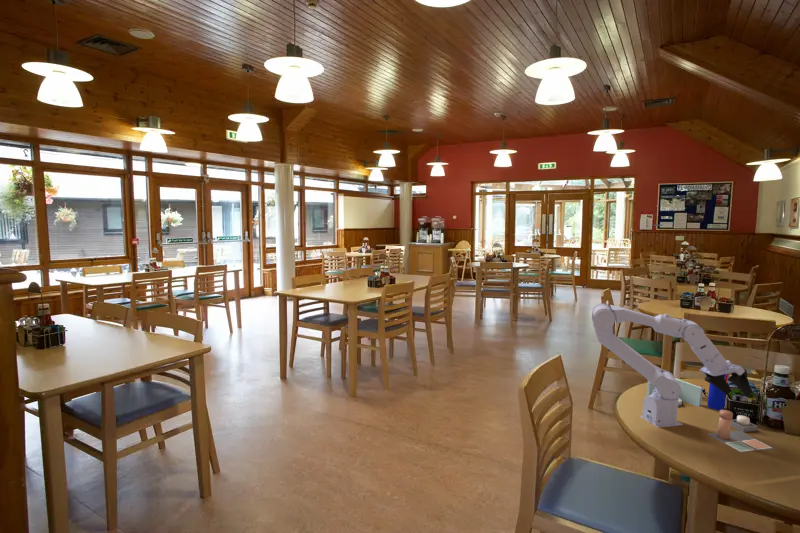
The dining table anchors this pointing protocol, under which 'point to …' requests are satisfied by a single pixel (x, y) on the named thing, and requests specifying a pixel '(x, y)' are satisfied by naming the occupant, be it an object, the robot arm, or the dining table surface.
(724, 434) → the tan rounded cylinder
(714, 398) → the beverage can
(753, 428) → the button housing
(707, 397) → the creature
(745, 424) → the button
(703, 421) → the dining table surface
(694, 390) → the l-shaped corner panel
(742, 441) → the picture board
